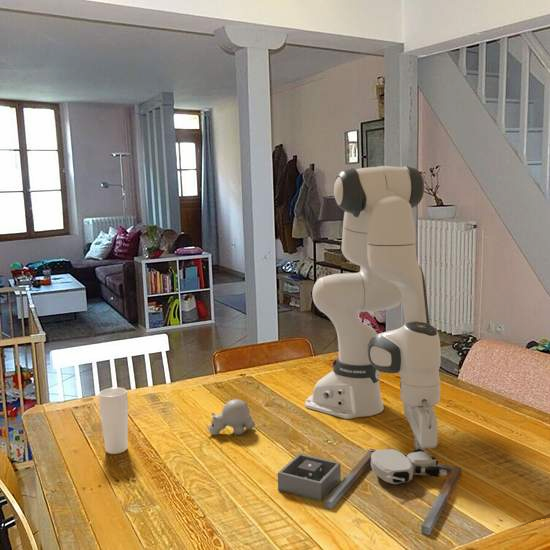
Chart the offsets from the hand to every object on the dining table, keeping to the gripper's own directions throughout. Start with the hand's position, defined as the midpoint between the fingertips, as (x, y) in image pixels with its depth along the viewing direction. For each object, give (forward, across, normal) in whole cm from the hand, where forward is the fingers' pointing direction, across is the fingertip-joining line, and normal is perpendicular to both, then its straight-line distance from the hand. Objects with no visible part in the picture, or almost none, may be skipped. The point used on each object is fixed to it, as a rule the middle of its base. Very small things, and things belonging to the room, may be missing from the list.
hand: (419, 449), depth 140 cm
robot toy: (+2, -10, +5) cm, 11 cm away
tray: (+2, -13, +26) cm, 29 cm away
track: (+2, -15, +8) cm, 17 cm away
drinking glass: (+2, +5, +73) cm, 73 cm away
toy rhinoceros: (+2, +15, +46) cm, 48 cm away
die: (+1, -13, +26) cm, 29 cm away
